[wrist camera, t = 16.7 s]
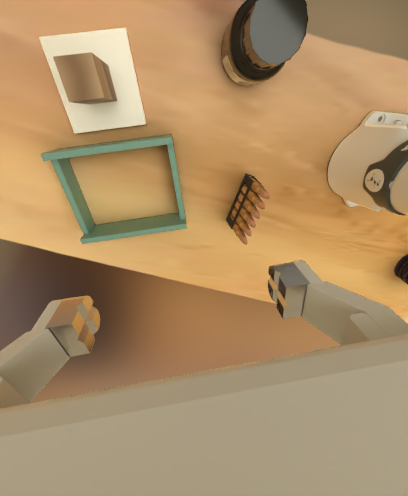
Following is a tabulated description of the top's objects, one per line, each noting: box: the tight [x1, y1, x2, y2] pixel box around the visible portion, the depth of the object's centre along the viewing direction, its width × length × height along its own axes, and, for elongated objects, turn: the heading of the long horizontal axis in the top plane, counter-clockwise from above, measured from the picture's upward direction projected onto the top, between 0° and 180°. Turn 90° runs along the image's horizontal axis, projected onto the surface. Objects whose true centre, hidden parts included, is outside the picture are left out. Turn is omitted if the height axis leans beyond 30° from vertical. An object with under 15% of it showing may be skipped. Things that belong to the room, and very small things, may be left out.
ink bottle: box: [221, 0, 308, 86], centre depth 30 cm, size 10×9×12 cm
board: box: [39, 28, 147, 134], centre depth 35 cm, size 12×12×1 cm
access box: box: [41, 134, 187, 244], centre depth 41 cm, size 20×16×6 cm
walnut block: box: [53, 52, 117, 104], centre depth 31 cm, size 4×4×8 cm
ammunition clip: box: [226, 174, 270, 245], centre depth 42 cm, size 11×2×12 cm, turn 160°
